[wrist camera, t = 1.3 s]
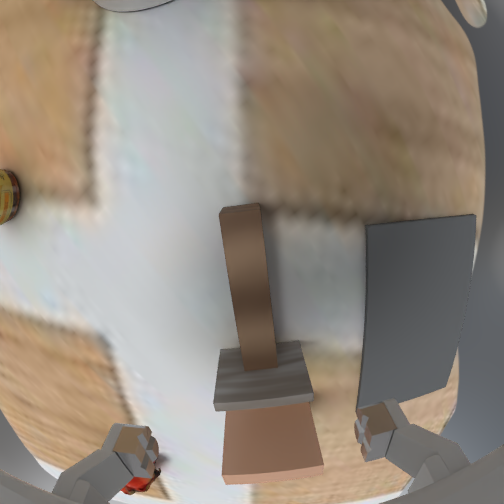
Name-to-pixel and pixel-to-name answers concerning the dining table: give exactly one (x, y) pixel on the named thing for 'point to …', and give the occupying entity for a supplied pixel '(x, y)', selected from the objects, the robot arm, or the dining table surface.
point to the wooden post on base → (255, 326)
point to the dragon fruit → (140, 483)
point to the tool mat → (414, 305)
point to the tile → (270, 445)
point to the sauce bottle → (8, 196)
